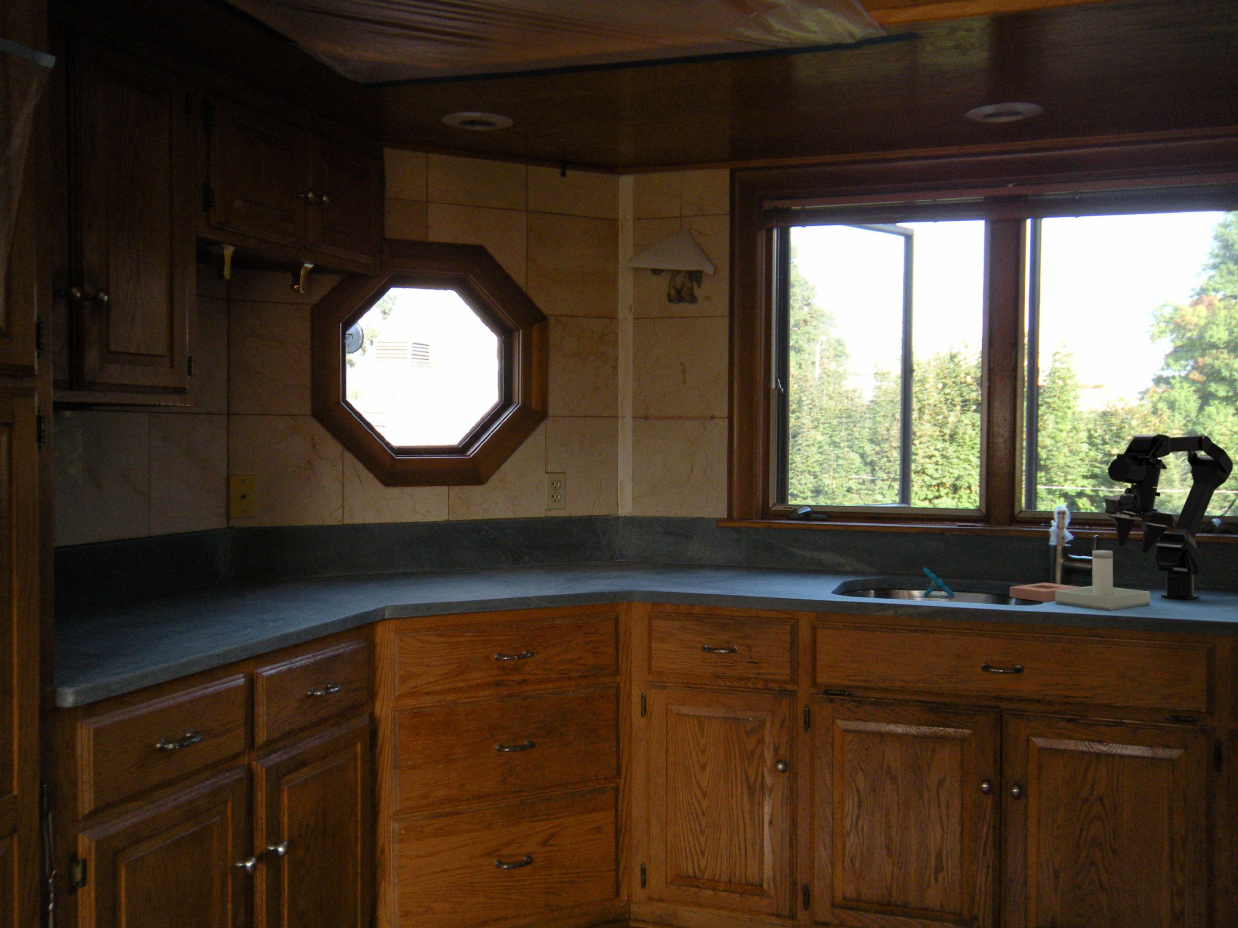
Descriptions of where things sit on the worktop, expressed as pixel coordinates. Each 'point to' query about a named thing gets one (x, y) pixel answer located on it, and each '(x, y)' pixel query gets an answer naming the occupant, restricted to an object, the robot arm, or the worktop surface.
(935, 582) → the teal branched piece
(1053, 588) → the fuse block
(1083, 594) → the tray
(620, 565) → the worktop surface
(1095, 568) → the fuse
